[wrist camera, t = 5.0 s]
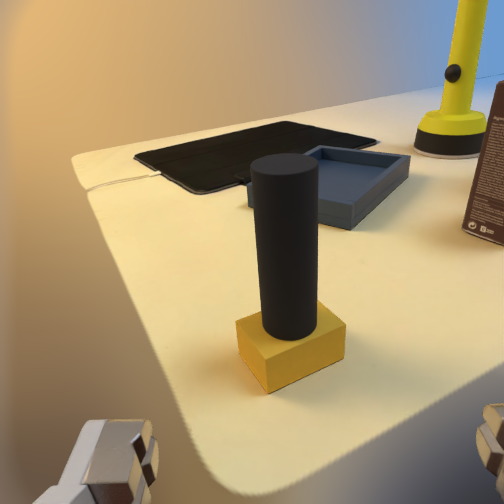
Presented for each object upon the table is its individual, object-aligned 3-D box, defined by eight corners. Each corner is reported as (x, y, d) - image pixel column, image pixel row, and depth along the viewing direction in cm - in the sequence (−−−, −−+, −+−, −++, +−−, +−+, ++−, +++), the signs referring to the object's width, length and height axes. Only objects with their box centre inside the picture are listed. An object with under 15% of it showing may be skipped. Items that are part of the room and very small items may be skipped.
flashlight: (478, -77, 48) (423, -78, 44) (558, -97, 41) (500, -101, 37) (444, 136, 60) (399, 148, 57) (501, 149, 53) (453, 163, 50)
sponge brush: (267, 394, 21) (252, 187, 16) (238, 353, 24) (216, 164, 18) (344, 358, 23) (355, 160, 17) (309, 324, 26) (308, 144, 20)
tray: (350, 230, 37) (352, 205, 35) (248, 206, 43) (246, 184, 42) (408, 176, 47) (410, 155, 46) (319, 164, 53) (319, 145, 52)
